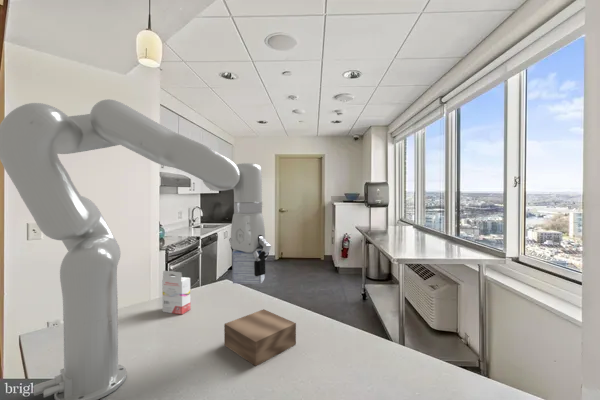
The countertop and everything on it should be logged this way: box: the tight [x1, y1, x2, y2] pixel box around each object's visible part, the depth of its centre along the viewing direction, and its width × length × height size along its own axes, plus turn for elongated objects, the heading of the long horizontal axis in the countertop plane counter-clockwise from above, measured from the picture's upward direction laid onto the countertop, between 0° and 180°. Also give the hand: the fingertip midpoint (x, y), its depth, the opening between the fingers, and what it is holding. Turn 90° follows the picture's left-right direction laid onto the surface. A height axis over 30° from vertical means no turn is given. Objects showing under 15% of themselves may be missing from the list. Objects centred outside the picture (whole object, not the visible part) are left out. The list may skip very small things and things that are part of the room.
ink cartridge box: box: [161, 270, 192, 315], centre depth 103 cm, size 9×5×15 cm, turn 73°
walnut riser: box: [223, 309, 297, 367], centre depth 80 cm, size 14×14×6 cm
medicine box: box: [231, 250, 265, 285], centre depth 78 cm, size 8×4×9 cm, turn 85°
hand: (248, 271), depth 78 cm, fingers closed on medicine box, 9 cm apart
